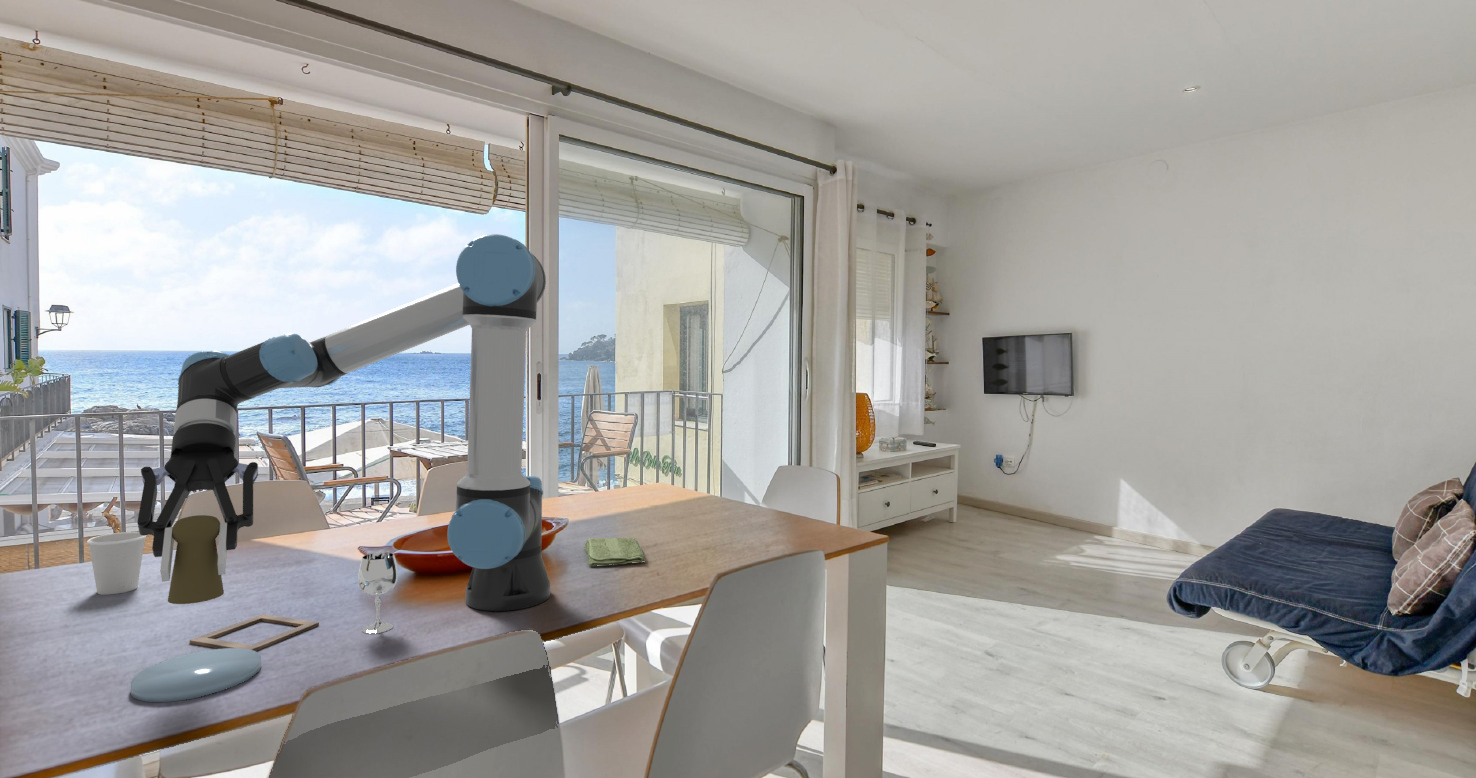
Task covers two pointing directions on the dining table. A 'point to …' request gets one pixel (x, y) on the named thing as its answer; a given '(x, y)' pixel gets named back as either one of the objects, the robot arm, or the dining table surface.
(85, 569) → the dining table surface
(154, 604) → the dining table surface
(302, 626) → the walnut frame
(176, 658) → the saucer
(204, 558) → the cork
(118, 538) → the dixie cup
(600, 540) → the washcloth
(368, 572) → the wineglass
